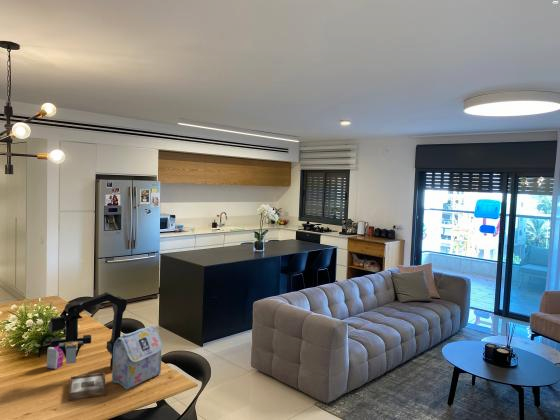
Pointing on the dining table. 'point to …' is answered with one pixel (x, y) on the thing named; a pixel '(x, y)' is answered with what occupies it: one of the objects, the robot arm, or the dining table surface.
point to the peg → (71, 354)
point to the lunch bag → (136, 357)
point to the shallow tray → (87, 386)
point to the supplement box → (54, 358)
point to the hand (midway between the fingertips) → (71, 356)
